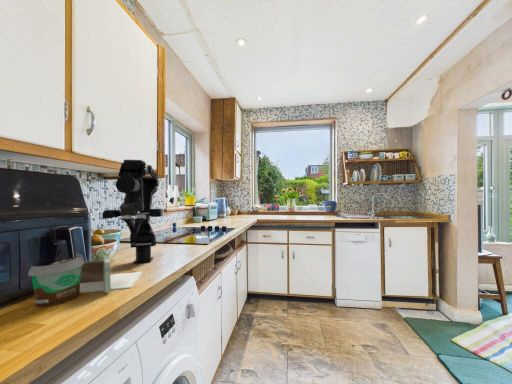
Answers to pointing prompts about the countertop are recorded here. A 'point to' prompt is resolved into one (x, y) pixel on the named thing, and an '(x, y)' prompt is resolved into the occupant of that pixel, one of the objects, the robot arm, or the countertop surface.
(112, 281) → the card
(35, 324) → the countertop surface
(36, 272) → the food container
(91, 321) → the countertop surface
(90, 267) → the fixed fence
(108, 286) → the gate panel
